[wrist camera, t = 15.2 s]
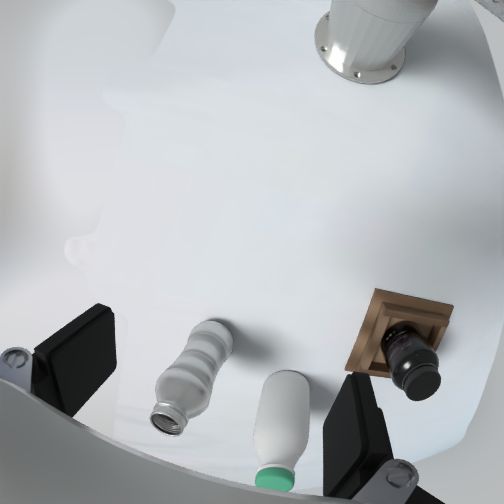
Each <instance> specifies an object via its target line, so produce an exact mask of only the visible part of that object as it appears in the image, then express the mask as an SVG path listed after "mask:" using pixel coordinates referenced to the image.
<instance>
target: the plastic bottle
mask: <svg viewBox="0 0 504 504" xmlns="http://www.w3.org/2000/svg"><path fill="white" fill-rule="evenodd" d="M232 349H233V337H232V335H231V333H230V331H229V330H228V329H227V328H226V327H225V326H224V325H222V324H221V323H218V322H215V321H204V322H201V323H200V324H198V325H197V326H195V327H194V328H193V329H192V331H191V333H190V335H189V338H188V342H187V344H186V346H185V348H184V350H183V352H182V353H181V354H180V356H179V357H178V358H177V359H176V361H175V362H174V363H173V364H172V365H171V366H170V367H169V368H168V369H166V370H165V371H164V372H163V373H162V374H161V375H160V377H159V378H158V380H157V383H156V388H155V392H156V397H157V401H158V403H156V405H155V407H154V410H153V412H152V413H151V415H150V421H151V423H152V425H153V426H154V427H155V428H156V429H157V430H158V431H160V432H161V433H163V434H165V435H168V436H179V435H181V433H182V432H183V430H184V428H185V427H186V425H187V423H188V421H189V419H191V418H193V417H196V416H198V415H200V414H201V413H202V412H204V411H205V410H206V408H207V407H208V404H209V401H210V398H211V393H212V388H213V384H214V381H215V378H216V375H217V373H218V371H219V369H220V368H221V366H222V365H223V363H224V362H225V361H226V360H227V359H228V357H229V356H230V354H231V353H232Z"/></svg>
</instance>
